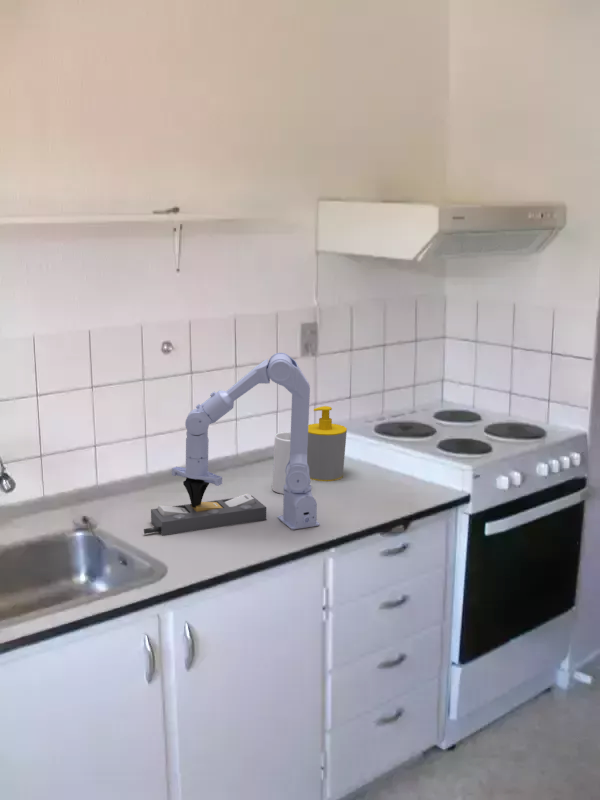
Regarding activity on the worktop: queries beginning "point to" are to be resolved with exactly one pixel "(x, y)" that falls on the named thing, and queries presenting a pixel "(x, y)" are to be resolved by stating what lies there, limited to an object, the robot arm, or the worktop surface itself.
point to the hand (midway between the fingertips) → (196, 506)
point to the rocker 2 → (240, 500)
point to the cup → (280, 460)
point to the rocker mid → (207, 506)
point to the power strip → (206, 517)
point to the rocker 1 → (171, 510)
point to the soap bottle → (326, 448)
